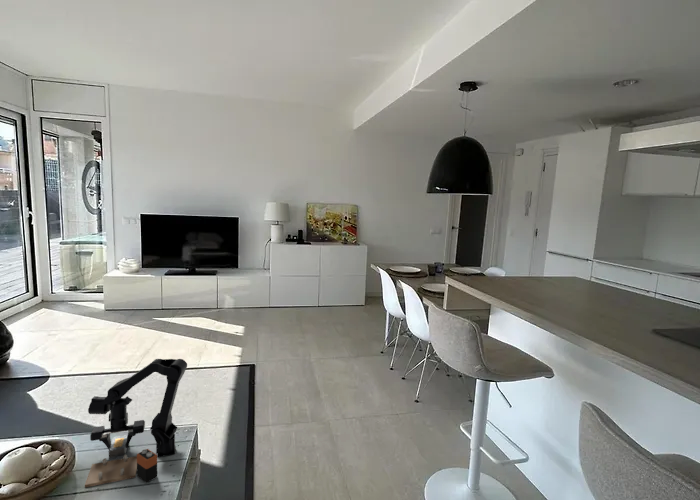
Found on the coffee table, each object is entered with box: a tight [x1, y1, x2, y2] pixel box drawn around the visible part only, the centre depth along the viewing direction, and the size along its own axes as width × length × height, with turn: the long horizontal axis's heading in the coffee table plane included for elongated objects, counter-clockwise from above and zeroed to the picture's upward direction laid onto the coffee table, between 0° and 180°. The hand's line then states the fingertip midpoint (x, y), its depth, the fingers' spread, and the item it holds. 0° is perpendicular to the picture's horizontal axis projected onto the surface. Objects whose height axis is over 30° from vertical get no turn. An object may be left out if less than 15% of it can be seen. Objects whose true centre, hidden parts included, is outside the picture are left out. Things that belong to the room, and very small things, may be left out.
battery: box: [136, 448, 158, 484], centre depth 144 cm, size 4×7×10 cm, turn 57°
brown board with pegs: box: [84, 454, 137, 488], centre depth 146 cm, size 16×12×3 cm
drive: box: [108, 434, 128, 461], centre depth 158 cm, size 10×6×4 cm, turn 23°
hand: (118, 449), depth 158 cm, fingers closed on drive, 5 cm apart
